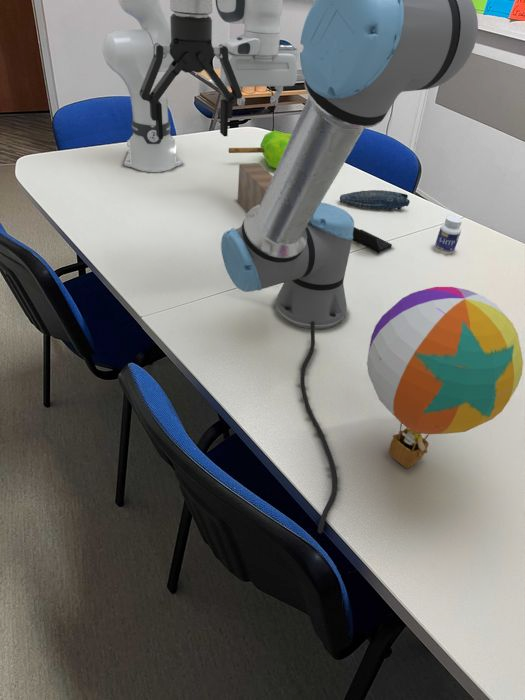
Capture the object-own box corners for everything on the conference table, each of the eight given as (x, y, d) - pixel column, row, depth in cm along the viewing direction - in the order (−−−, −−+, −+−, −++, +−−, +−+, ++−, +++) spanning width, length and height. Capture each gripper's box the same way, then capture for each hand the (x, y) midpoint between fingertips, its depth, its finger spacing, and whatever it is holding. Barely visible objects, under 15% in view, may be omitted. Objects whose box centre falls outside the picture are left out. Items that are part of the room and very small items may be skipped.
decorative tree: (225, 127, 180) (309, 126, 185) (225, 157, 186) (306, 156, 192) (232, 143, 166) (322, 142, 172) (232, 175, 173) (319, 173, 178)
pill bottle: (433, 251, 139) (442, 220, 133) (435, 243, 143) (444, 213, 137) (453, 256, 138) (464, 225, 132) (454, 247, 142) (465, 217, 136)
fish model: (408, 214, 157) (412, 198, 153) (339, 207, 158) (341, 191, 154) (406, 206, 162) (410, 190, 159) (339, 199, 163) (341, 183, 160)
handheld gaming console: (396, 239, 139) (388, 216, 131) (384, 261, 138) (375, 240, 130) (358, 230, 145) (348, 208, 137) (347, 252, 144) (336, 231, 136)
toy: (317, 448, 82) (351, 286, 63) (393, 397, 93) (442, 246, 74) (418, 536, 71) (496, 372, 52) (491, 467, 82) (578, 310, 63)
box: (292, 237, 140) (297, 198, 133) (271, 240, 138) (275, 200, 131) (256, 199, 158) (258, 163, 151) (237, 201, 156) (239, 164, 149)
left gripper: (293, 42, 134) (288, 100, 143) (218, 41, 127) (217, 102, 136) (304, 47, 130) (297, 106, 138) (227, 46, 123) (225, 108, 131)
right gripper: (248, 14, 101) (243, 128, 114) (117, 8, 93) (128, 132, 106) (262, 19, 95) (255, 138, 109) (124, 14, 87) (134, 144, 101)
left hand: (257, 104), depth 137 cm, fingers open, 8 cm apart
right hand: (192, 135), depth 107 cm, fingers open, 13 cm apart
